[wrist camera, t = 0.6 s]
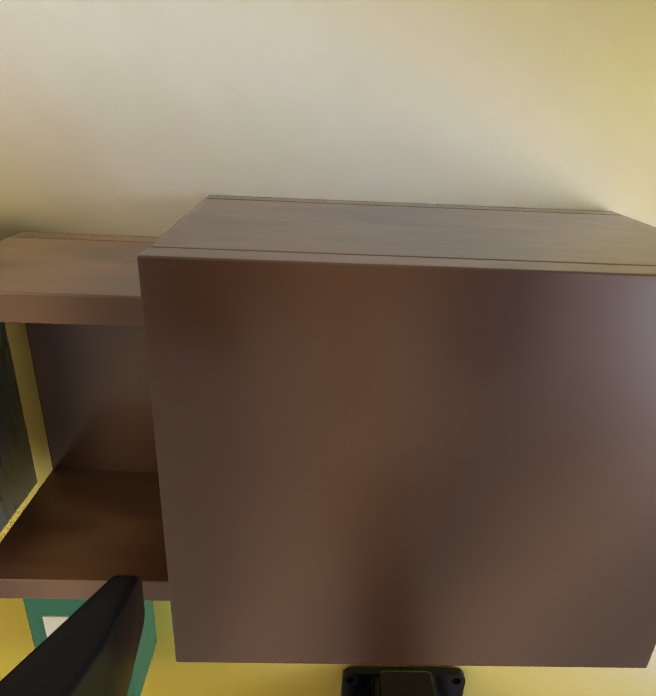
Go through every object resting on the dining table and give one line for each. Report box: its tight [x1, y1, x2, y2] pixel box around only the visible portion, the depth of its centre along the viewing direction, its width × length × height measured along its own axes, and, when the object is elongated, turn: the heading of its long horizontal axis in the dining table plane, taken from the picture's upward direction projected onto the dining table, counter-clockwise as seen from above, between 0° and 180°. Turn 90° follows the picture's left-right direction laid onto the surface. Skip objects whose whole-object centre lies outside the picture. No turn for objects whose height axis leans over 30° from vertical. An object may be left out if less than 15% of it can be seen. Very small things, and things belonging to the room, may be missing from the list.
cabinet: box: [137, 195, 656, 668], centre depth 19 cm, size 15×13×9 cm
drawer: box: [0, 232, 170, 601], centre depth 18 cm, size 17×11×7 cm, turn 88°
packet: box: [23, 598, 157, 696], centre depth 26 cm, size 6×4×3 cm, turn 177°
